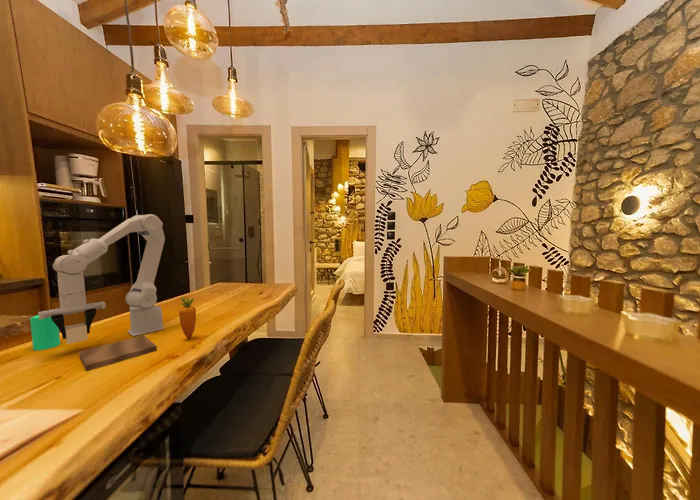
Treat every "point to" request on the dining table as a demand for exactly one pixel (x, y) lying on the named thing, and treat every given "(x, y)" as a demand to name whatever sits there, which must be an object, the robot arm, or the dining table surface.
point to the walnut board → (116, 352)
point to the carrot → (187, 317)
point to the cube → (76, 333)
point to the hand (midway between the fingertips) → (76, 335)
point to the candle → (44, 333)
